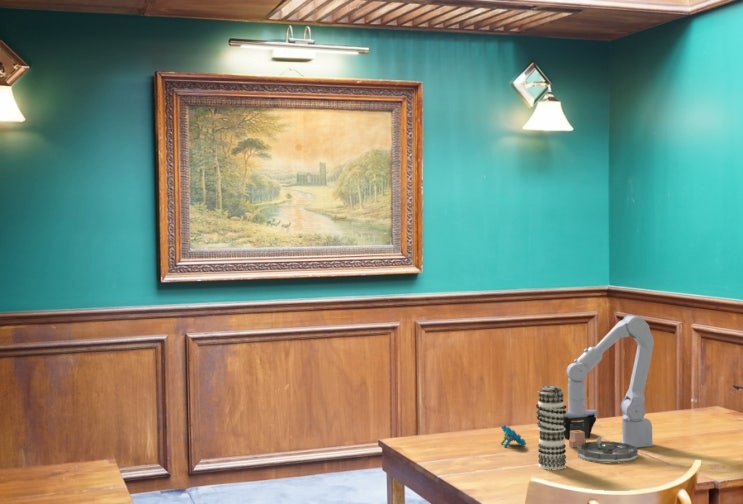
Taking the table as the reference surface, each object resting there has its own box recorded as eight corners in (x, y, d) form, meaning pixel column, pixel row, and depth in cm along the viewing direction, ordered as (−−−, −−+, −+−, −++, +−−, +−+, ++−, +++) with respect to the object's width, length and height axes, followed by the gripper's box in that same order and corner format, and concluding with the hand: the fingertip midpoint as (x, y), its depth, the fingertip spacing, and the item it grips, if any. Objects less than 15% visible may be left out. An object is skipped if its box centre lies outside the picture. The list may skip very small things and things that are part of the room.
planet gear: (580, 443, 324) (580, 429, 324) (588, 447, 319) (588, 432, 319) (566, 445, 322) (566, 430, 322) (574, 448, 317) (574, 433, 317)
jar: (565, 429, 347) (564, 409, 347) (590, 432, 341) (590, 411, 341) (553, 434, 339) (553, 413, 339) (579, 438, 333) (579, 416, 333)
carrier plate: (617, 447, 318) (617, 431, 317) (649, 460, 299) (649, 443, 299) (566, 452, 312) (566, 436, 312) (596, 465, 294) (596, 448, 294)
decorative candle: (561, 471, 287) (559, 390, 287) (532, 468, 292) (531, 388, 291) (571, 465, 295) (570, 385, 294) (543, 461, 300) (542, 383, 299)
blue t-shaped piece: (531, 444, 318) (510, 424, 317) (521, 457, 316) (499, 437, 315) (519, 441, 328) (498, 422, 327) (508, 454, 327) (488, 435, 326)
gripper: (589, 395, 326) (590, 434, 326) (551, 398, 322) (552, 437, 322) (600, 398, 319) (600, 438, 320) (561, 401, 315) (562, 442, 315)
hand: (577, 438), depth 320 cm, fingers open, 7 cm apart
